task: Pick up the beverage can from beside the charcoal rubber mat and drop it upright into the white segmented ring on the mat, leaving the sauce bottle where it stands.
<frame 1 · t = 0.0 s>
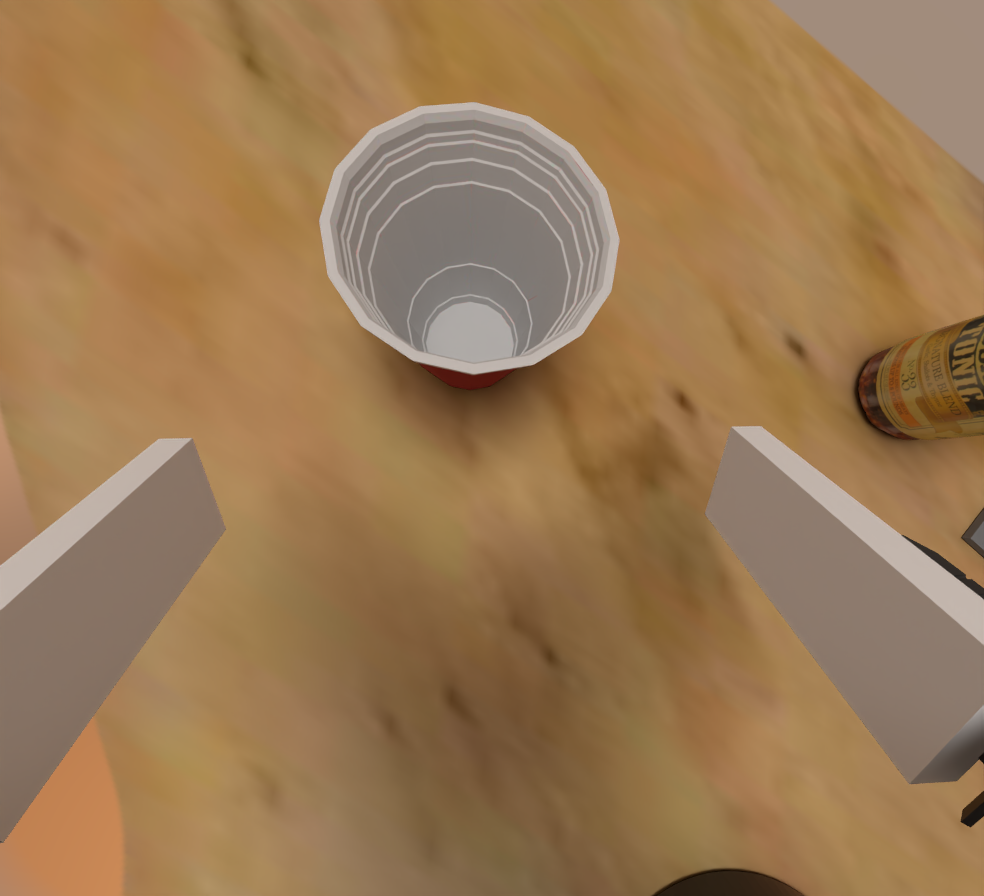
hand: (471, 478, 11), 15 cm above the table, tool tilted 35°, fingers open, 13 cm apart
sauce bottle: (894, 398, 29), on the table
plastic cup: (472, 343, 28), on the table
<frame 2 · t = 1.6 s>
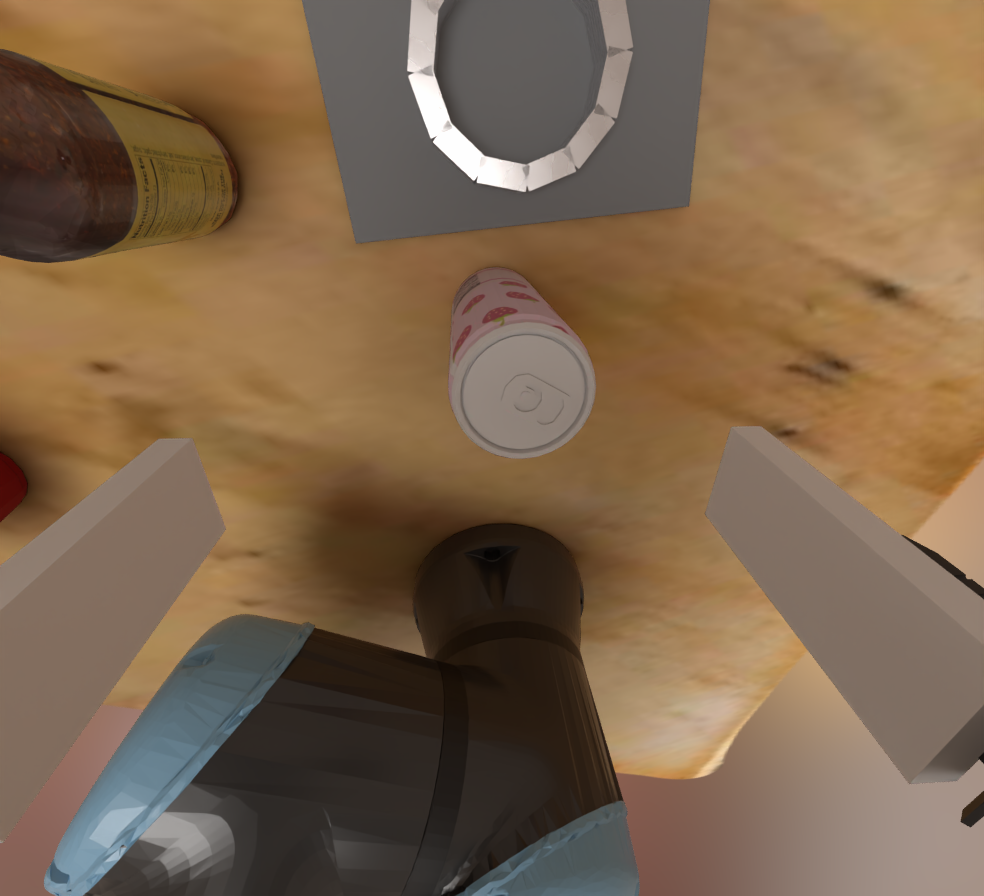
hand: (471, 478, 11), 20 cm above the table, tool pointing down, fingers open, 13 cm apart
white segmented ring: (514, 75, 23), resting on holder mat
holder mat: (513, 77, 24), on the table
beverage can: (494, 312, 30), on the table
sauce bottle: (191, 177, 25), on the table
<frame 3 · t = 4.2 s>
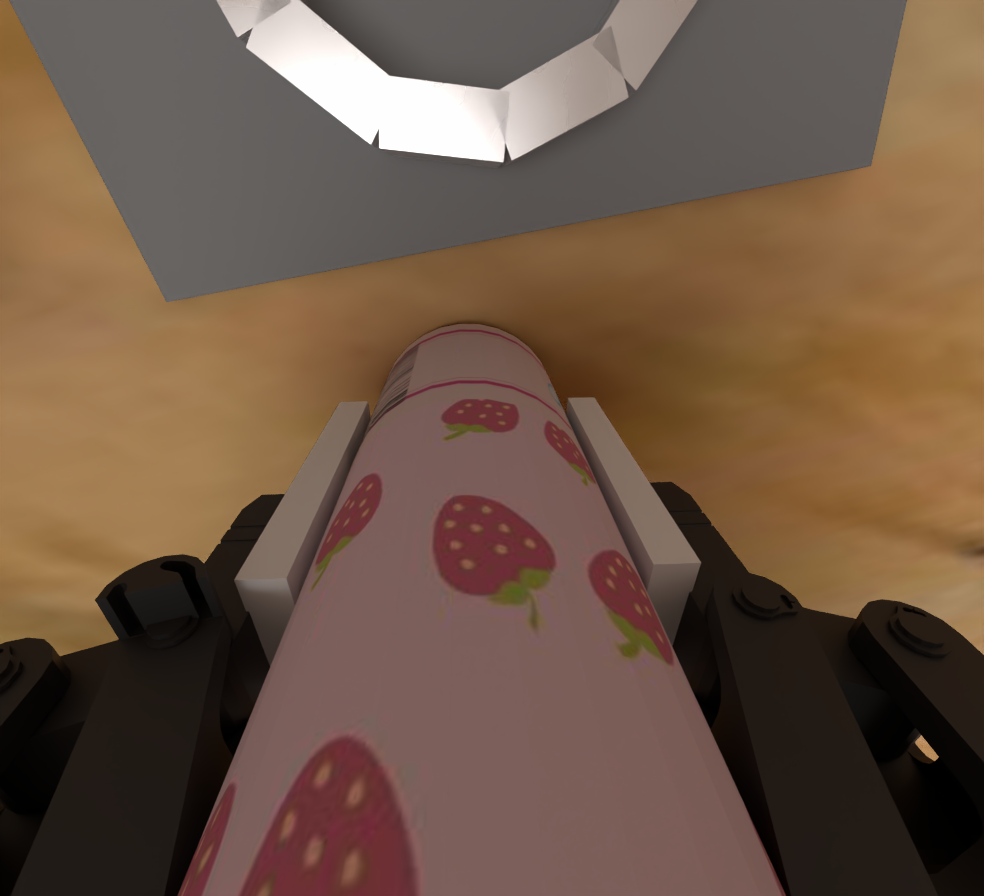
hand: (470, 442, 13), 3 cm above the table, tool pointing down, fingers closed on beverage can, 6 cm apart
beverage can: (468, 400, 16), on the table, touching gripper
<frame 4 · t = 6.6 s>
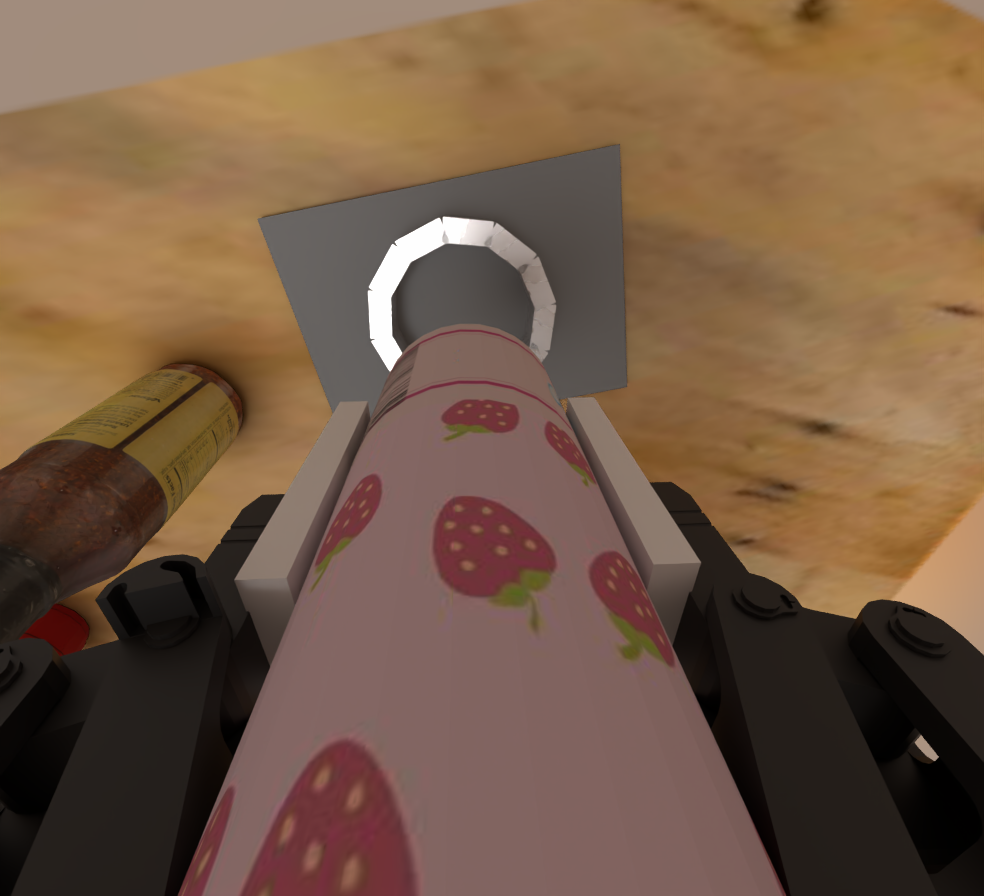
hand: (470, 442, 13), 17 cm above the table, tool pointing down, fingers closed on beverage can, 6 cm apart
white segmented ring: (462, 312, 27), resting on holder mat
holder mat: (462, 310, 28), on the table
beverage can: (469, 401, 16), point 14 cm above the table, touching gripper
sauce bottle: (204, 404, 30), on the table
plastic cup: (53, 620, 39), on the table
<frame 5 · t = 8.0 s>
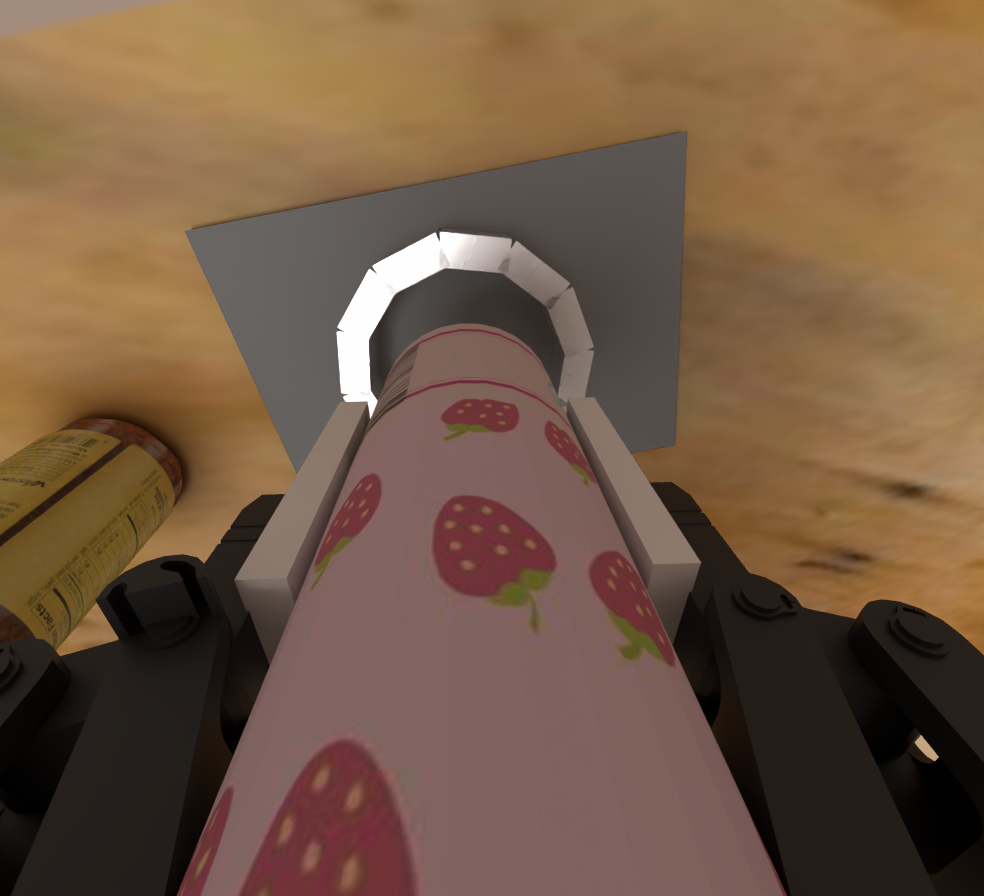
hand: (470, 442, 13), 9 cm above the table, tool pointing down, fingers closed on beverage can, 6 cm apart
white segmented ring: (466, 354, 21), resting on holder mat
holder mat: (466, 350, 21), on the table
beverage can: (468, 400, 16), point 6 cm above the table, touching gripper
sauce bottle: (133, 465, 23), on the table
when the fingers open (6 cm above the table, at t = 9.0 s): beverage can drops 2 cm, resting on holder mat.
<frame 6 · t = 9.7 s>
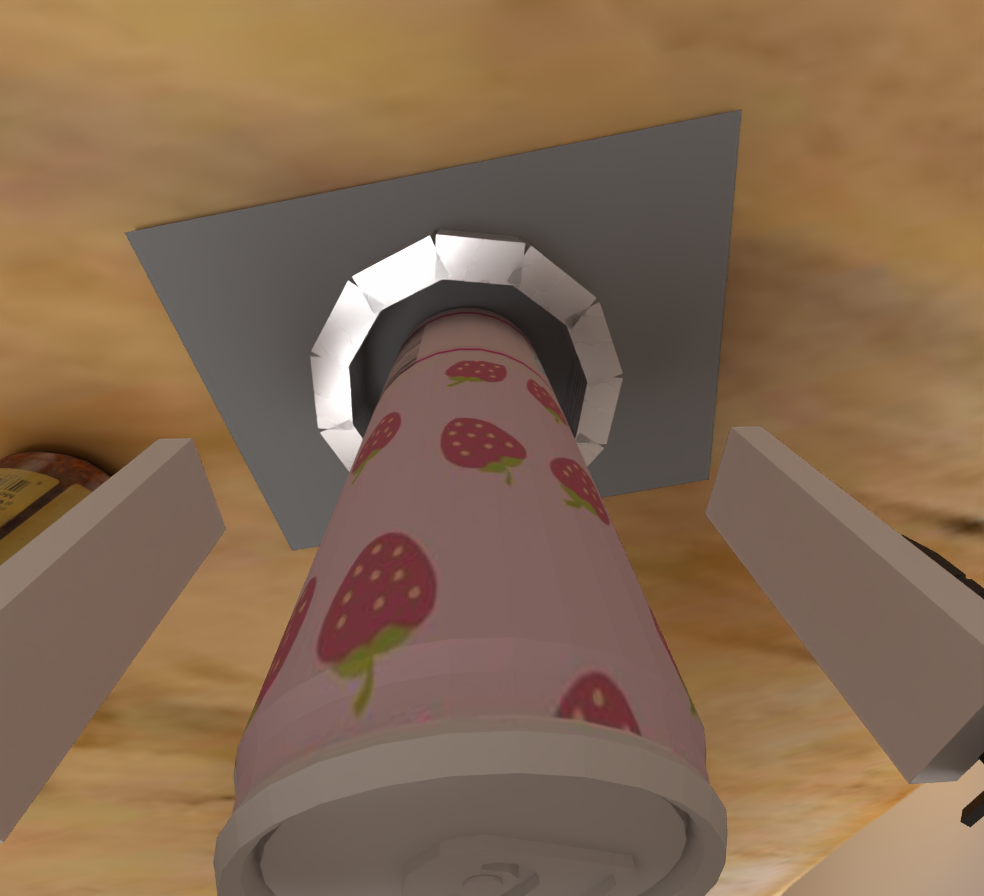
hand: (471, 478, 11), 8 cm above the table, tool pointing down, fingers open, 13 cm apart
white segmented ring: (468, 377, 18), resting on holder mat
holder mat: (468, 373, 18), on the table
beverage can: (467, 377, 18), resting on holder mat
sauce bottle: (83, 502, 20), on the table
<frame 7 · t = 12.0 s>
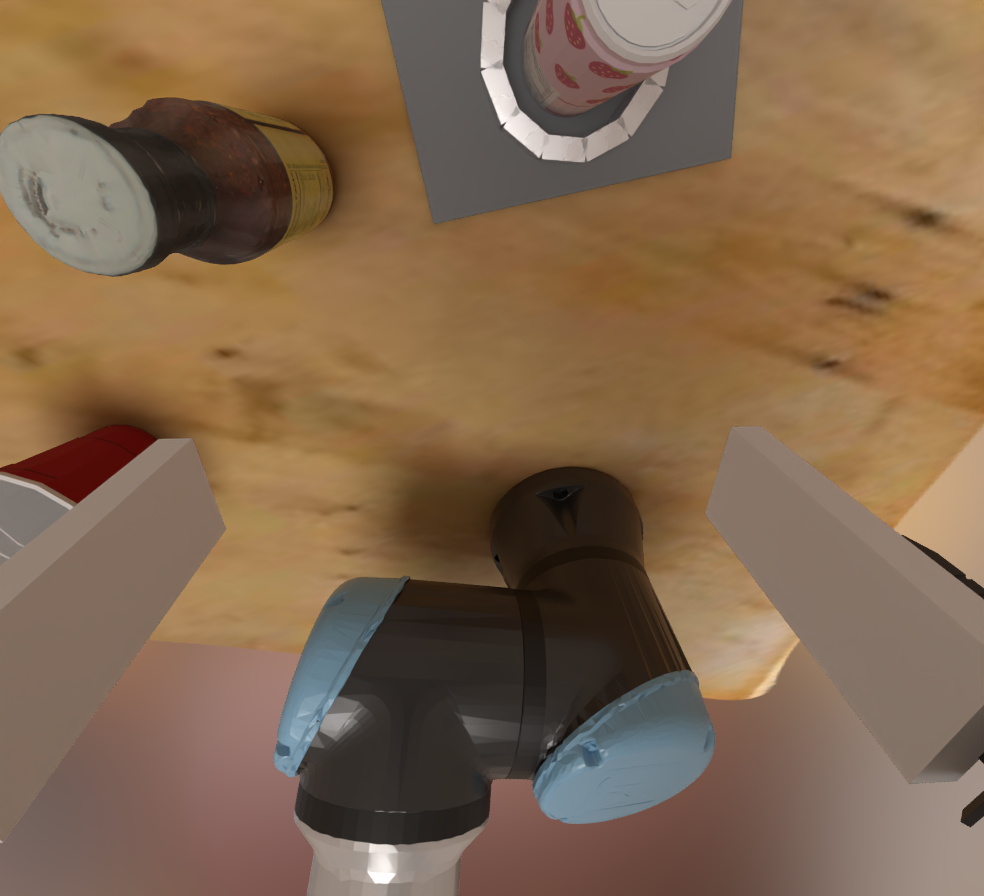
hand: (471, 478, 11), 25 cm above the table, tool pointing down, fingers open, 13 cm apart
white segmented ring: (569, 56, 26), resting on holder mat
holder mat: (567, 58, 27), on the table
beverage can: (568, 58, 26), resting on holder mat
sauce bottle: (293, 181, 29), on the table
plastic cup: (133, 449, 39), on the table
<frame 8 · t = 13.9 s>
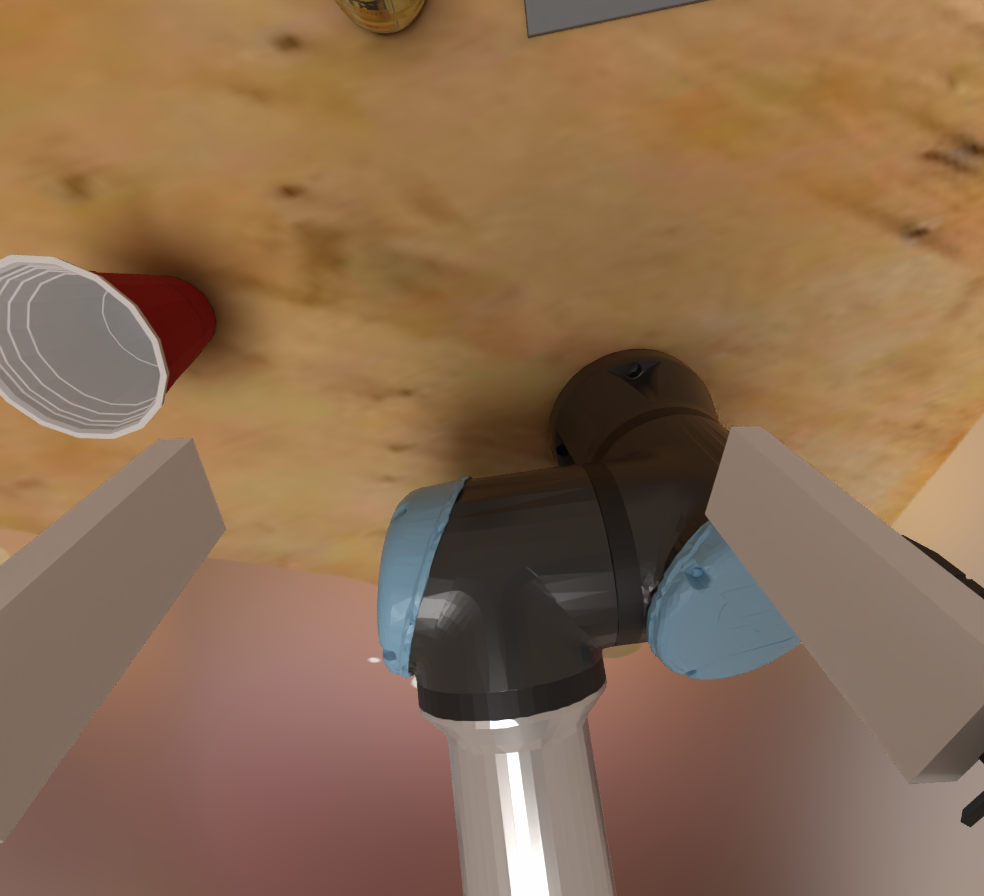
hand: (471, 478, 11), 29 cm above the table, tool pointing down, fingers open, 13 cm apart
plastic cup: (178, 309, 36), on the table
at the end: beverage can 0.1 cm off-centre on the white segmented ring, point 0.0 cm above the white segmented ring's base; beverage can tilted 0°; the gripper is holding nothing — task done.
